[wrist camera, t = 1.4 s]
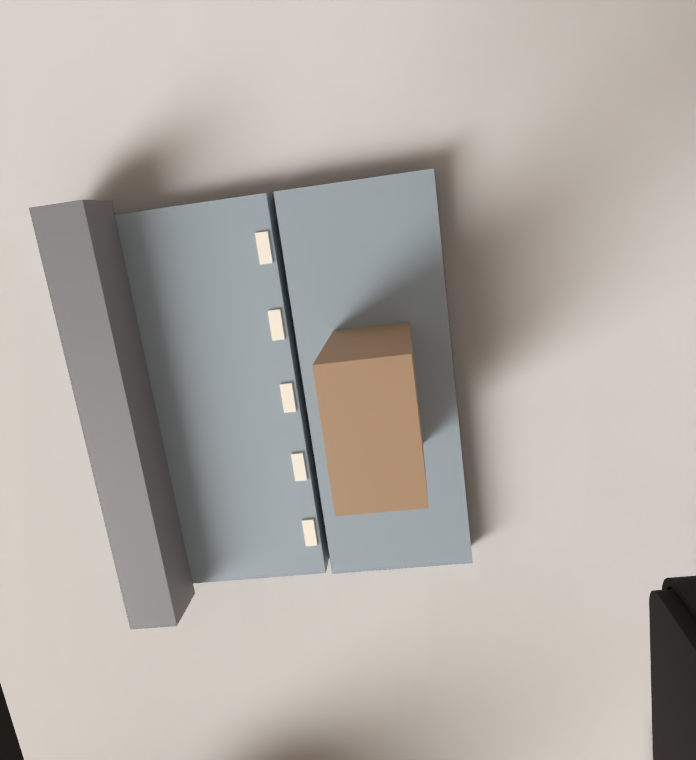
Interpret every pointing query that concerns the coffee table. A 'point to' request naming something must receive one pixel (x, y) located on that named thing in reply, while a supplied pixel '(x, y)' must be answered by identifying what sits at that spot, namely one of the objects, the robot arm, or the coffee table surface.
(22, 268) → the coffee table surface
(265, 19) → the coffee table surface
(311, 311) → the grey slab
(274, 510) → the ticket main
